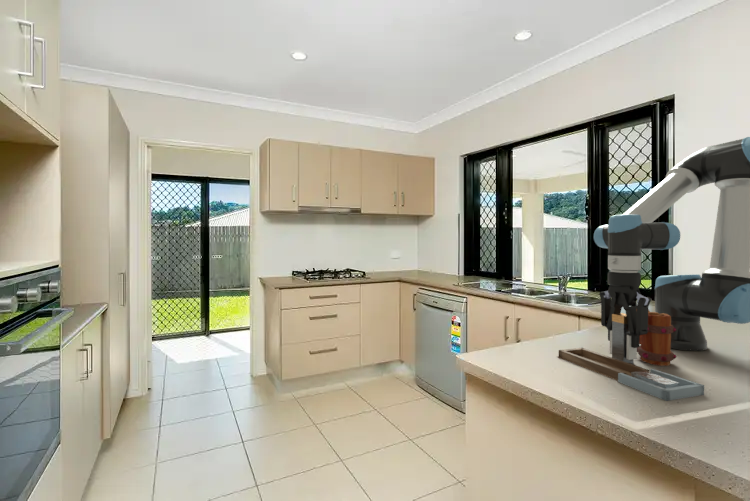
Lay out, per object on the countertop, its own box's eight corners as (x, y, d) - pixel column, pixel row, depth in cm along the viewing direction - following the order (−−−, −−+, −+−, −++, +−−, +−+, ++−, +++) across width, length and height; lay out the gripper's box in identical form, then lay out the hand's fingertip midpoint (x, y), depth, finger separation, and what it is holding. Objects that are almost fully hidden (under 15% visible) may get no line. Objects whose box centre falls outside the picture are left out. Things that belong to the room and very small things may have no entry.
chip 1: (644, 381, 89) (644, 370, 89) (660, 387, 85) (661, 376, 85) (631, 382, 88) (631, 372, 88) (647, 389, 84) (647, 378, 84)
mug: (682, 371, 97) (683, 314, 97) (647, 369, 99) (648, 313, 98) (652, 355, 111) (653, 305, 111) (622, 353, 113) (623, 304, 113)
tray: (653, 380, 91) (653, 368, 91) (704, 399, 80) (704, 385, 80) (618, 385, 88) (618, 373, 88) (666, 405, 77) (666, 391, 77)
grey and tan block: (621, 362, 104) (622, 313, 104) (633, 366, 101) (634, 315, 101) (611, 363, 103) (612, 313, 103) (623, 368, 100) (623, 316, 100)
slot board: (584, 356, 110) (584, 347, 110) (651, 381, 91) (651, 369, 90) (556, 359, 107) (556, 350, 107) (619, 385, 88) (619, 373, 88)
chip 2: (660, 387, 85) (660, 376, 85) (679, 394, 82) (679, 382, 81) (647, 389, 84) (647, 378, 84) (665, 396, 80) (665, 384, 80)
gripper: (586, 269, 109) (585, 348, 109) (644, 274, 92) (643, 367, 93) (606, 268, 111) (605, 346, 112) (667, 273, 94) (665, 364, 95)
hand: (622, 355), depth 102 cm, fingers open, 4 cm apart
